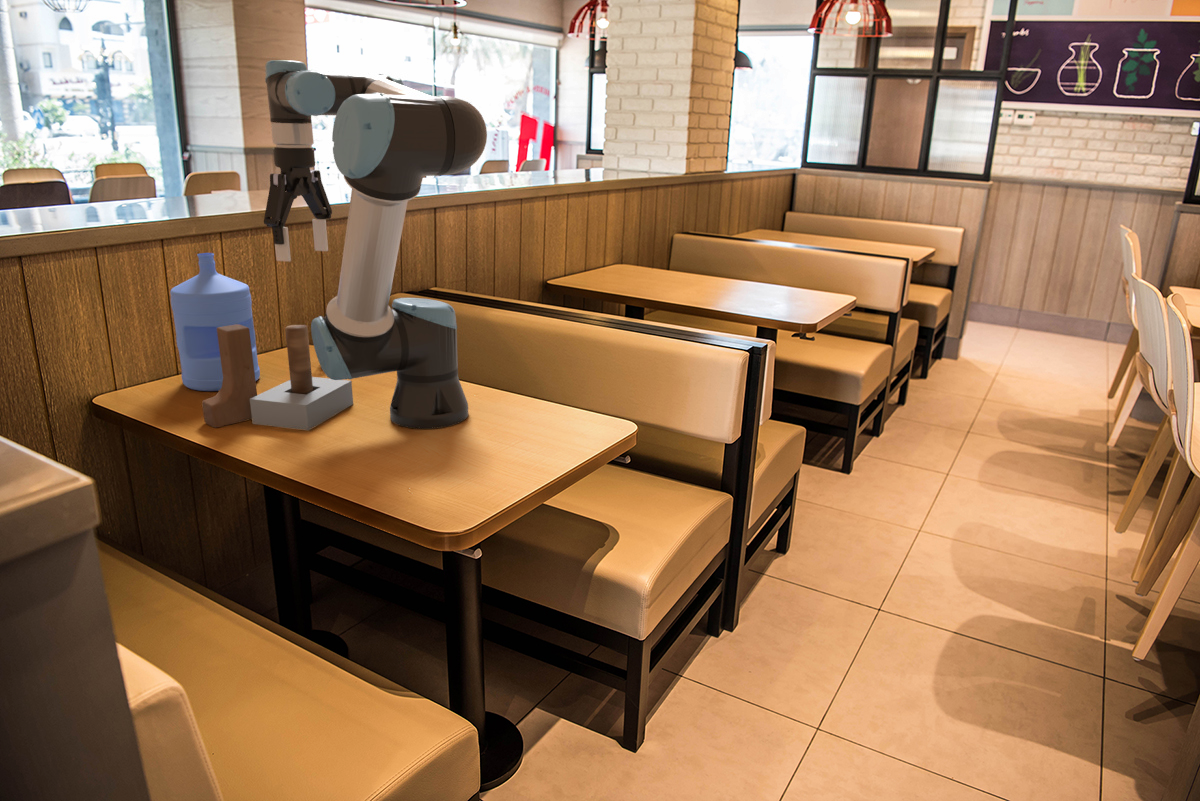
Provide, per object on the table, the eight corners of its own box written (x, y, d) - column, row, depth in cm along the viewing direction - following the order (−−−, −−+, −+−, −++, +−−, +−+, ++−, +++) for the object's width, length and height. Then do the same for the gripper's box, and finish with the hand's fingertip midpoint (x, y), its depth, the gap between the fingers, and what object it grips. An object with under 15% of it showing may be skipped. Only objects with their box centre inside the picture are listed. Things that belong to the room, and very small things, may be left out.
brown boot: (214, 429, 154) (201, 335, 148) (204, 423, 157) (190, 331, 151) (260, 417, 161) (250, 327, 155) (250, 412, 163) (239, 323, 158)
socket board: (301, 398, 172) (299, 375, 170) (353, 404, 169) (351, 380, 168) (252, 423, 157) (249, 398, 156) (308, 430, 154) (305, 405, 153)
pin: (318, 404, 164) (311, 325, 159) (306, 410, 160) (299, 330, 155) (300, 402, 165) (293, 324, 160) (288, 408, 161) (280, 328, 156)
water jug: (173, 379, 182) (154, 252, 173) (245, 367, 192) (230, 246, 183) (196, 397, 171) (177, 262, 162) (271, 383, 181) (257, 255, 172)
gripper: (311, 143, 173) (320, 245, 180) (235, 147, 150) (248, 264, 157) (344, 145, 171) (351, 247, 178) (272, 149, 148) (283, 266, 155)
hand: (303, 255), depth 167 cm, fingers open, 13 cm apart
